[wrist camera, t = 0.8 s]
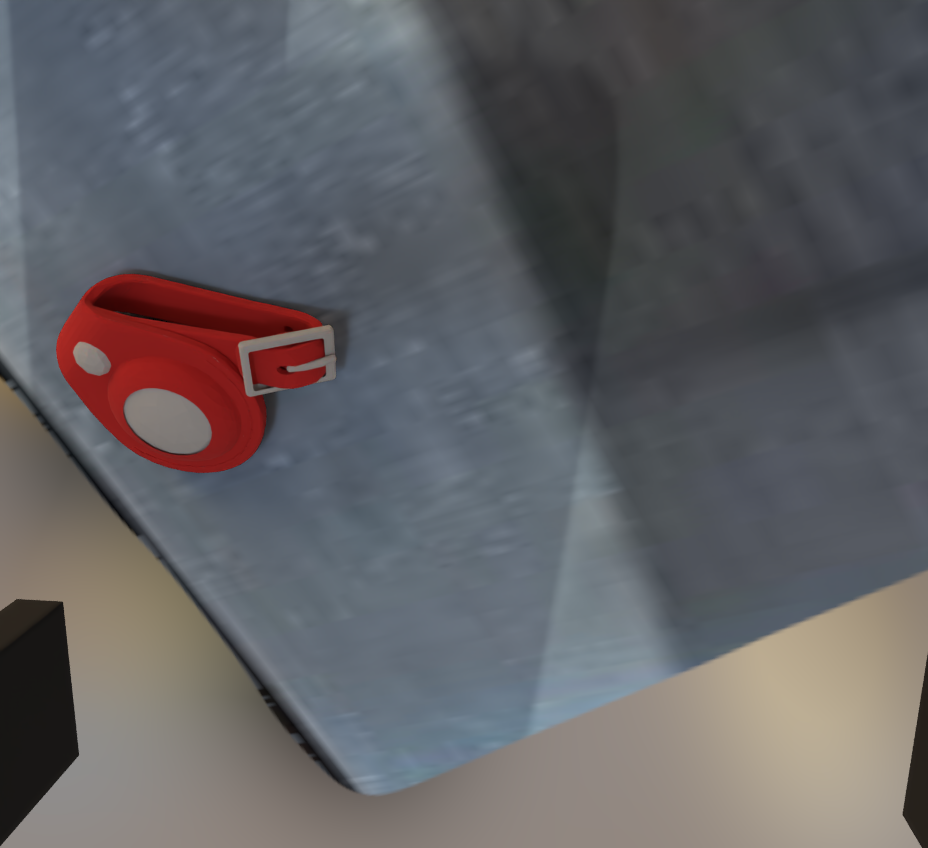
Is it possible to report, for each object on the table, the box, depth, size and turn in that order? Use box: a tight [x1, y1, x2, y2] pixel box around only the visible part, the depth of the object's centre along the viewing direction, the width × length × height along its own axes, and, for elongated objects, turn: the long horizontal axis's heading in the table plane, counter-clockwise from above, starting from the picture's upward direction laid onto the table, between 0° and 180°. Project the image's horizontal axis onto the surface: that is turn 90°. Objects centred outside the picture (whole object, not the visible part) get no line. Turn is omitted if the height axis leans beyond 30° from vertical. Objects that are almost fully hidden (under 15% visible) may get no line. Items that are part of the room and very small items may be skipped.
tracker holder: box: [56, 274, 337, 473], centre depth 37 cm, size 12×4×10 cm
